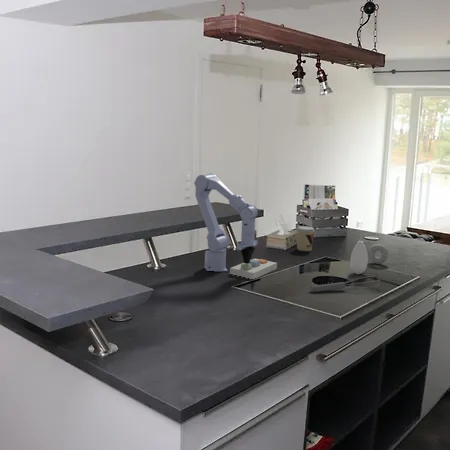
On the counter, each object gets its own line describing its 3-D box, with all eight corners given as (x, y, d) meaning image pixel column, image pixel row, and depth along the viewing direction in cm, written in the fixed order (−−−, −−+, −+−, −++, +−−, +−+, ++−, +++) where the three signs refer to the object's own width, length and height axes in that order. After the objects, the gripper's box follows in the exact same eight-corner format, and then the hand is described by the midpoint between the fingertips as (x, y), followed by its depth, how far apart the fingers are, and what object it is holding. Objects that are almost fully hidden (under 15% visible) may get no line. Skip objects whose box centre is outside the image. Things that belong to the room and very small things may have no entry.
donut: (366, 263, 271) (368, 243, 269) (367, 261, 274) (369, 242, 272) (386, 266, 267) (388, 246, 265) (388, 264, 270) (390, 244, 268)
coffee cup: (307, 252, 288) (309, 230, 286) (292, 249, 294) (293, 227, 291) (316, 249, 295) (317, 227, 293) (301, 246, 301) (302, 225, 299)
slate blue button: (255, 269, 245) (255, 262, 245) (248, 267, 247) (248, 261, 246) (259, 267, 248) (259, 261, 248) (252, 265, 250) (252, 259, 249)
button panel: (253, 279, 236) (253, 273, 235) (229, 274, 242) (230, 268, 242) (276, 269, 254) (277, 262, 253) (254, 264, 260) (254, 258, 260)
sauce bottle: (366, 276, 247) (370, 238, 243) (349, 275, 248) (352, 236, 245) (366, 272, 254) (369, 234, 251) (349, 270, 256) (352, 233, 252)
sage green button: (247, 272, 239) (247, 265, 239) (240, 270, 241) (240, 264, 241) (251, 270, 242) (252, 264, 242) (244, 269, 244) (245, 262, 244)
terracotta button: (262, 267, 251) (263, 261, 251) (256, 266, 253) (256, 260, 252) (266, 266, 254) (267, 260, 254) (260, 265, 256) (260, 258, 255)
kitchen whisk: (303, 290, 224) (304, 275, 223) (374, 286, 234) (375, 272, 233) (310, 295, 219) (311, 280, 217) (382, 290, 229) (384, 276, 228)
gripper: (247, 237, 230) (245, 268, 233) (264, 232, 242) (262, 261, 245) (233, 234, 234) (232, 265, 237) (250, 229, 246) (249, 258, 249)
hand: (246, 263), depth 241 cm, fingers closed
